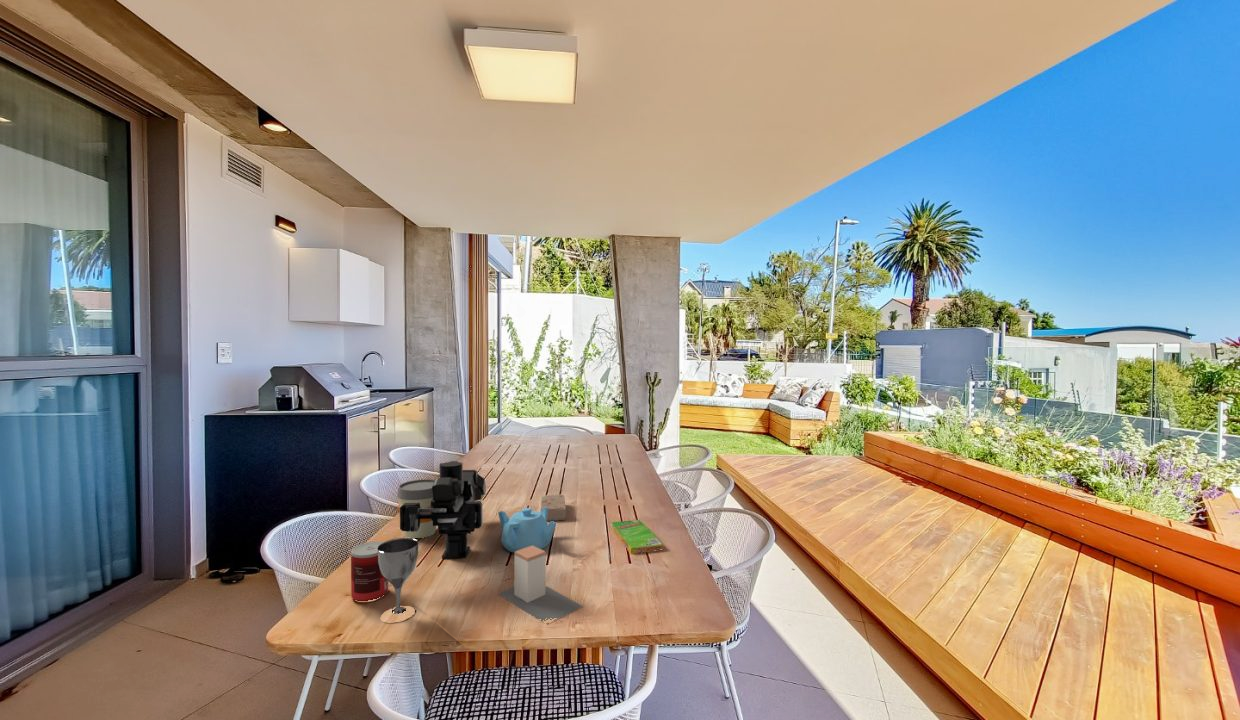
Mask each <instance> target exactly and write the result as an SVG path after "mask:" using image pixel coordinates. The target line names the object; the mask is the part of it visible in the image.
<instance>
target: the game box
mask: <svg viewBox="0 0 1240 720" xmlns="http://www.w3.org/2000/svg"><path fill="white" fill-rule="evenodd" d="M611 525H612V528H611V529H612V532H613V533H614V534H615V536H616V537H617V538H618V539H620V540H619V541H620V542H621V543H622V544H623V546H624V547H625V549H626V548H627V549H626V550H627V552H630V553H631V554H630V553H629V554H630V555H633V554H632V553H637V554H640V553H639V552H645V553H648V552H647V551H653V552H655V551H654V550H660V549H663V550H664V544H663V543H662V542H661V541H660V540H659V539H658V537H657V536H656V535H655V534H654V533H653V531H651V530H650V529H649V528H648V527H647V526H646V525H645V524H644V523H643V521H641V520H640V519H632V520H631V519H630V520H624V521H613V522H611Z"/></svg>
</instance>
